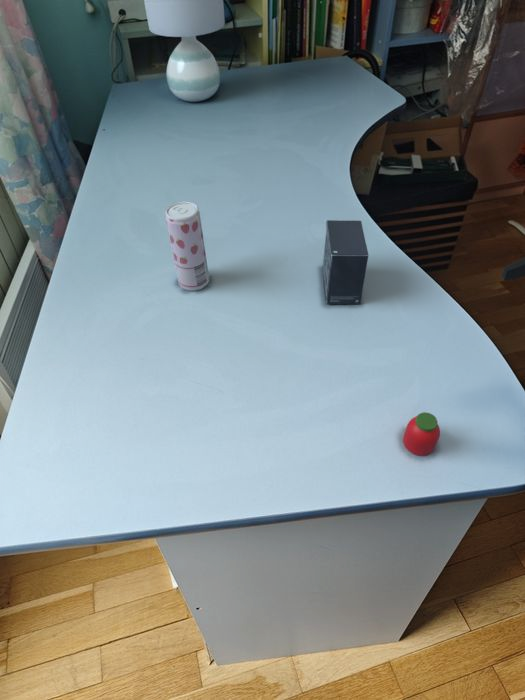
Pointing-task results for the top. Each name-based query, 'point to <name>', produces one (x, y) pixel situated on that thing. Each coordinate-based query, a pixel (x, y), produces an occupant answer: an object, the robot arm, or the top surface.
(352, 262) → the small box
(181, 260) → the beverage can
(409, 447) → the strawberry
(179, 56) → the lamp
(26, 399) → the top surface
